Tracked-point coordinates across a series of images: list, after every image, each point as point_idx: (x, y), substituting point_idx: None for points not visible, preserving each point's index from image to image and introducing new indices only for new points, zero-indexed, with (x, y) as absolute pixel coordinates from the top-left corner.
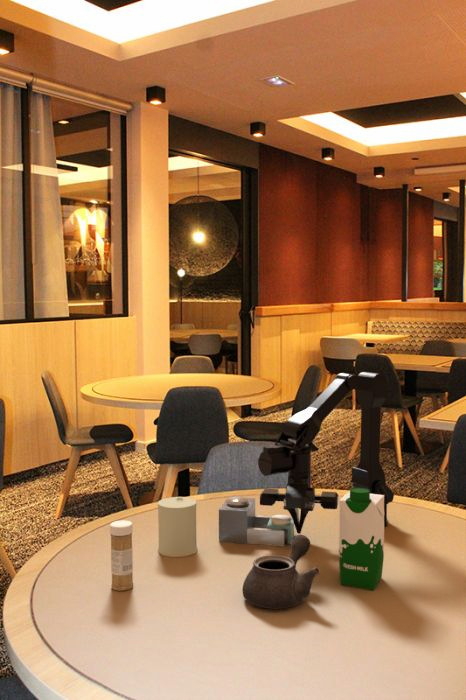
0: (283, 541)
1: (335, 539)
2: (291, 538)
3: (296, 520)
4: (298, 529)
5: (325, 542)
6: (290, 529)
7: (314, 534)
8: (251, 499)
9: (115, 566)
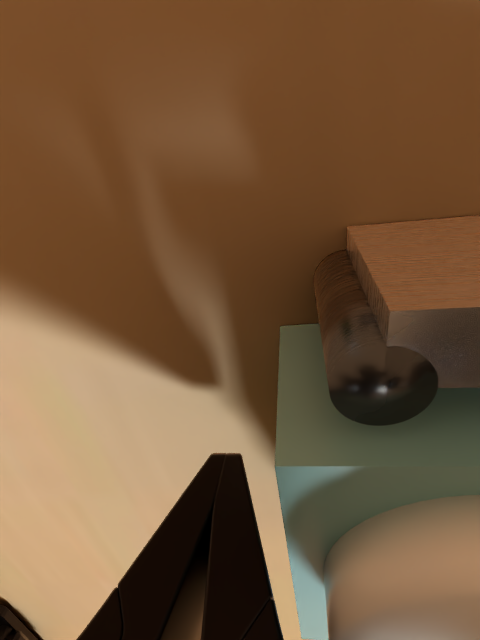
0: (365, 241)
1: (6, 455)
2: (281, 355)
3: (221, 609)
4: (221, 486)
5: (31, 400)
6: (294, 433)
7: (165, 505)
8: None
9: None
